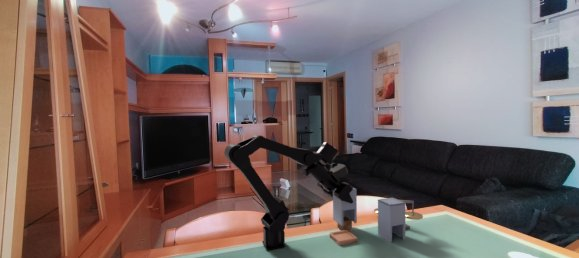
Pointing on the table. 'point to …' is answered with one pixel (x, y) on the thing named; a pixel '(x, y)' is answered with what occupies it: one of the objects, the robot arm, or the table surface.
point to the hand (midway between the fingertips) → (347, 199)
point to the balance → (408, 213)
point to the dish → (343, 237)
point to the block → (346, 224)
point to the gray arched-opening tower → (391, 218)
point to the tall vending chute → (345, 208)
